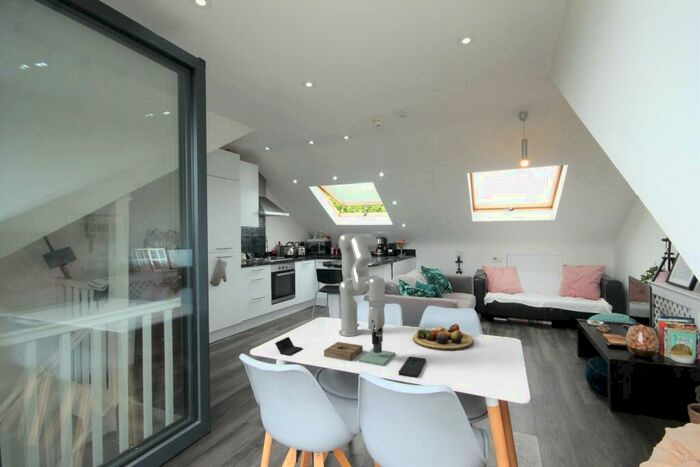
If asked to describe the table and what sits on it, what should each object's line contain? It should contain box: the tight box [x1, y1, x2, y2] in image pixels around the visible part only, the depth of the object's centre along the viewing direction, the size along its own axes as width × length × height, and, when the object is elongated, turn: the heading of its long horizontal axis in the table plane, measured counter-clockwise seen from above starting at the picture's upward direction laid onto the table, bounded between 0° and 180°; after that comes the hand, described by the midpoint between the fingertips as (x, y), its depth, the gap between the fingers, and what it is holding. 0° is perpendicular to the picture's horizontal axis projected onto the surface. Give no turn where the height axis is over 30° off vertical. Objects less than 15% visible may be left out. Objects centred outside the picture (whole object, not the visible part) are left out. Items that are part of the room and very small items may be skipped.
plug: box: [372, 331, 383, 353], centre depth 156 cm, size 4×4×9 cm
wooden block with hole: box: [323, 341, 364, 362], centre depth 161 cm, size 14×14×3 cm
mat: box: [358, 348, 396, 367], centre depth 156 cm, size 16×12×1 cm
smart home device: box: [398, 355, 427, 379], centre depth 144 cm, size 8×2×20 cm
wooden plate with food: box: [412, 323, 475, 352], centre depth 180 cm, size 32×32×8 cm
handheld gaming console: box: [274, 336, 303, 357], centre depth 167 cm, size 12×7×10 cm
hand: (377, 342), depth 156 cm, fingers closed on plug, 4 cm apart
